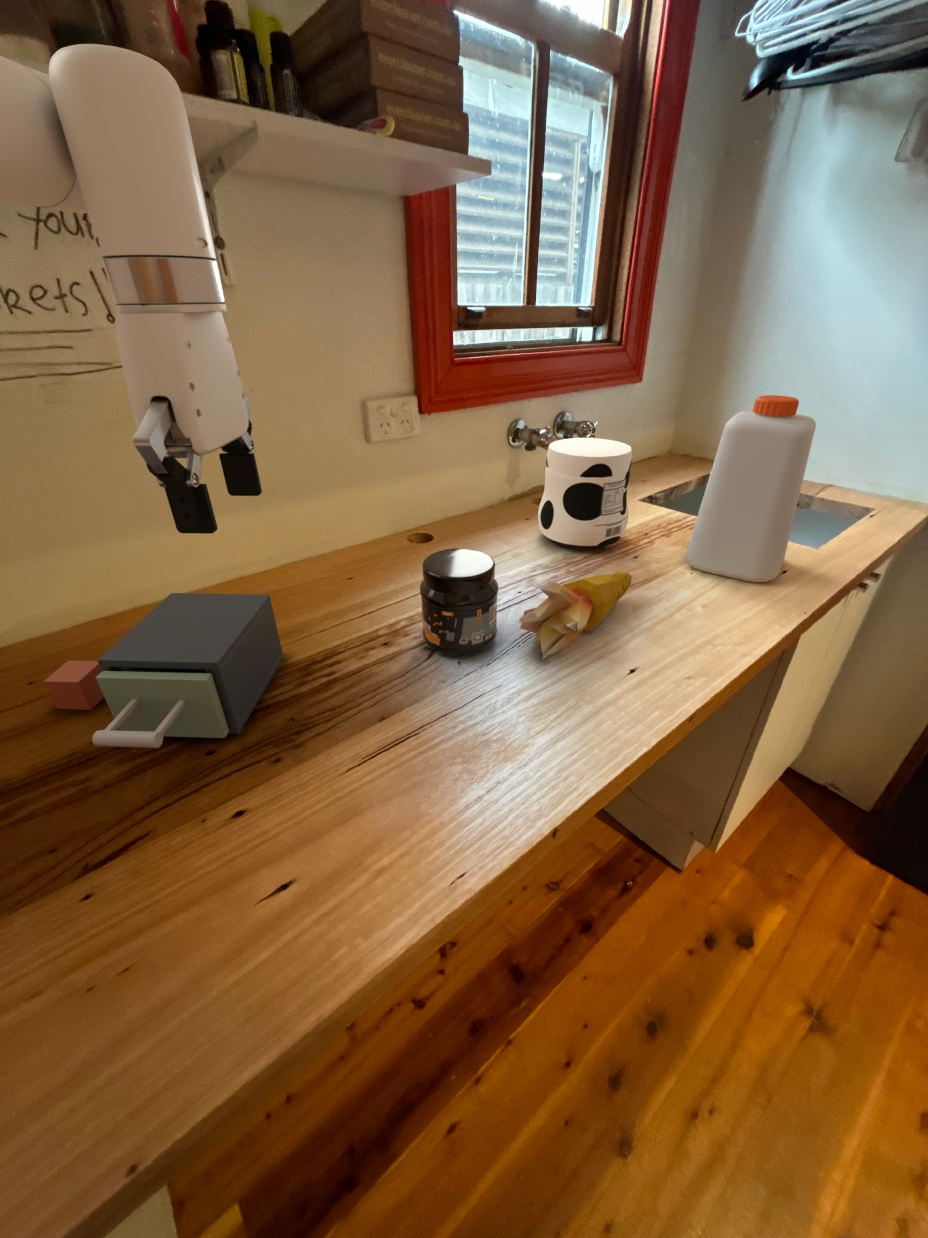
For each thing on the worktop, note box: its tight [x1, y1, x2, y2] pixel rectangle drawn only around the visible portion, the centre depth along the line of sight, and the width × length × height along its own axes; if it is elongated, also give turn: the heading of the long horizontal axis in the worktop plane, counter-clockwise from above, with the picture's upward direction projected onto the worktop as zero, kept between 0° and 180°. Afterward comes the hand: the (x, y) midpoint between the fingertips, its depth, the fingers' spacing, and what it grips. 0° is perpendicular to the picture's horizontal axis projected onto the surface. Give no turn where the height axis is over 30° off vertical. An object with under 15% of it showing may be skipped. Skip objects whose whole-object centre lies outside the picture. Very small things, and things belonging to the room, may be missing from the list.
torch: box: [518, 570, 633, 660], centre depth 77 cm, size 8×8×25 cm
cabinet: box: [96, 592, 284, 735], centre depth 64 cm, size 15×13×10 cm
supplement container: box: [419, 547, 499, 658], centre depth 73 cm, size 10×10×12 cm
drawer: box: [91, 667, 229, 749], centre depth 59 cm, size 20×12×8 cm, turn 177°
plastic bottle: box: [685, 394, 817, 583], centre depth 90 cm, size 15×15×28 cm
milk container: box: [537, 437, 633, 549], centre depth 103 cm, size 17×17×18 cm
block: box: [43, 660, 105, 711], centre depth 64 cm, size 4×4×4 cm
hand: (224, 511), depth 48 cm, fingers open, 9 cm apart
